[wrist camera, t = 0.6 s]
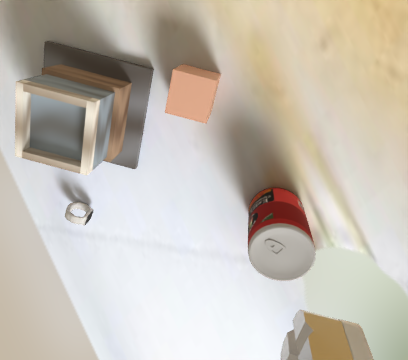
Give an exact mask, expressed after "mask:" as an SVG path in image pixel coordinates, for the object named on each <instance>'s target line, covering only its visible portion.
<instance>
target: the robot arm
mask: <svg viewBox="0 0 408 360" xmlns="http://www.w3.org/2000/svg"><path fill="white" fill-rule="evenodd" d="M293 325H294V330H292V331H290V332H288V333H287V335H286V337H285V339H284V342H283V346H282V351H281V360H374V359H373V356H372V354H371V351H370V348H369V346H368V343H367V340H366V338H365V335H364V332H363V330H362V328H361V326H360V325H359V324H356V323H352V322H348V321H344V320H339V319H338V320H337V319H334V318H330V317H326V316H322V315H319V314H315V313H311V312H308V311H304V310H299V311H298V312H297V313H296V315H295V317H294V319H293Z"/></svg>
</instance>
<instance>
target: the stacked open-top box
mask: <svg viewBox="0 0 408 360" xmlns="http://www.w3.org/2000/svg"><path fill="white" fill-rule="evenodd" d="M153 70H154V69H152V68H148V67H145V66H141V65H137V64H133V63H129V62H126V61H122V60H118V59H114V58H110V57H107V56H103V55H99V54H95V53H91V52H88V51H84V50H80V49H76V48H72V47H69V46H65V45H61V44H57V43H53V42H50V41H46V42H45V48H44V68H42V75H41V76H37V77H33V78H28V79H24V80H20V81H16V105H15V156H17V157H20V158H24V159H28V160H32V161H35V162H39V163H43V164H46V165H50V166H54V167H58V168H61V169H65V170H69V171H72V172H76V173H80V174H84V175H88V174H89V173H90V172H91V171H92V170H93V169H94V168H96V167H97V166H98V165H99V164H100V163H101V162H102V161H106V162H110V163H113V164H117V165H121V166H125V167H128V168H132V169H136V168H137V165H138V159H139V153H140V147H141V141H142V135H143V129H144V123H145V118H146V112H147V106H148V100H149V94H150V88H151V82H152V76H153Z"/></svg>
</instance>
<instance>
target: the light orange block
mask: <svg viewBox="0 0 408 360" xmlns="http://www.w3.org/2000/svg"><path fill="white" fill-rule="evenodd" d="M220 75H221V74H219V73H215V72H211V71H208V70H204V69H200V68H196V67H192V66H188V65H185V64H182V65H180V66H178V67H176V68H175V69H173V72H172V78H171V83H170V88H169V93H168V99H167V104H166V109H165V113H168V114H172V115H176V116H180V117H183V118H187V119H191V120H195V121H198V122H202V123H207V120H208V118H209V116H210V114H211V111H212V107H213V103H214V99H215V95H216V91H217V87H218V83H219V79H220Z"/></svg>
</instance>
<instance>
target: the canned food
mask: <svg viewBox="0 0 408 360" xmlns="http://www.w3.org/2000/svg"><path fill="white" fill-rule="evenodd" d="M248 254H249V259H250V262H251V264H252V265H253V267H254V268H255V269H256V270H257V271H258V272H259V273H260V274H262V275H263V276H265V277H267V278H270V279H273V280H277V281H290V280H294V279H297V278H299V277H302V276H303V275H305V274H306V273H307V272H308V271H309V270H310V269H311V268H312V266H313V264H314V261H315V246H314V242H313V238H312V235H311V231H310V228H309V225H308V221H307V218H306V215H305V211H304V208H303V205H302V203H301V201H300V200H299V199H298V198H297V197H296V196H295V195H294V194H293V193H291V192H290V191H288V190H285V189H282V188H269V189H265V190H263V191H261V192H259V193H258V194H257V195H256V196H255V197H254V199H253V200H252V201H251V203H250V206H249V220H248Z"/></svg>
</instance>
